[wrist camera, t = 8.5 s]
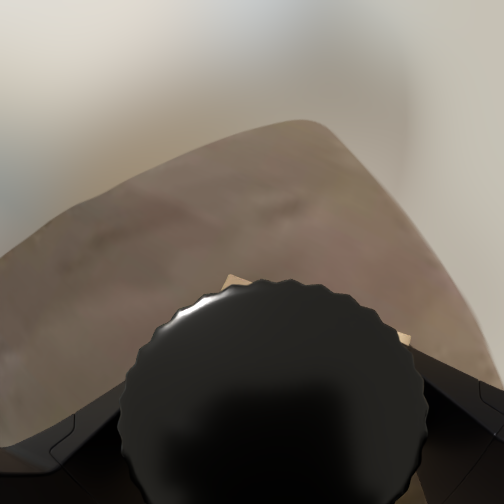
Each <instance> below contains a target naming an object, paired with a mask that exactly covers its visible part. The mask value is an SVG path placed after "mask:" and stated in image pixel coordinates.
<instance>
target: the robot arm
mask: <svg viewBox="0 0 504 504" xmlns="http://www.w3.org/2000/svg"><path fill="white" fill-rule="evenodd" d="M401 344H402V345H404V346H405V347H406V348H408V349H409V350H410V351H411V352H412V353H413V357H414V365H415V369H416V370H417V371H418V372H419V373H420V375H421V376H422V377H423V379H424V393H423V395H424V397H425V399H426V401H427V403H428V405H429V411H428V416H427V418H426V425H427V429H428V435H429V436H428V438H427V441H426V443H425V445H424V446H423V449H422V462H421V465H420V466H419V468H418V469H417V474H418V477H419V480H420V482H421V485H422V488H423V491H424V494H425V497H426V500H427V503H428V504H504V391H503V390H500V389H498V388H496V387H494V386H491V385H489V384H487V383H485V382H483V381H479V380H478V379H476V378H474V377H472V376H470V375H468V374H466V373H464V372H461V371H459V370H457V369H455V368H453V367H451V366H449V365H447V364H445V363H443V362H441V361H439V360H437V359H434V358H432V357H430V356H428V355H426V354H424V353H422V352H420V351H418V350H416V349H414V348H412V347H410V346H408V345H406V344H404V343H402V342H401ZM124 389H125V381H124V382H122V383H121V384H119V385H118V386H116V387H115V388H113V389H111V390H110V391H108V392H107V393H105V394H104V395H102V396H101V397H99V398H98V399H96V400H94V401H93V402H91V403H90V404H88V405H87V406H85V407H83V408H82V409H80V410H79V411H77V412H76V413H75V414H72V415H71V416H69V417H67V418H66V419H64V420H62V421H61V422H59V423H57V424H56V425H54V426H52V427H50V428H48V429H46V430H44V431H42V432H40V433H38V434H36V435H34V436H32V437H30V438H28V439H26V440H23V441H21V442H19V443H17V444H15V445H12V446H9V447H2V448H1V447H0V504H145V503H144V500H143V498H142V495H141V492H140V490H139V489H138V488H137V487H136V486H135V485H134V483H133V482H132V481H131V480H130V476H129V467H128V465H127V463H126V461H125V460H124V459H123V457H122V455H121V444H122V439H121V436H120V434H119V432H118V428H117V425H118V421H119V418H120V415H121V411H120V407H119V398H120V396H121V394H122V392H123V391H124Z"/></svg>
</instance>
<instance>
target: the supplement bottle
mask: <svg viewBox="0 0 504 504" xmlns="http://www.w3.org/2000/svg"><path fill="white" fill-rule="evenodd" d="M423 393H424V379H423V377H422V376H421V375H420V373H419V372H418V371H417V370H416V369H415V365H414V357H413V353H412V352H411V351H410V350H409V349H408V348H406V347H405V346H404V345H402V344H401V341H400V338H399V335H398V333H397V331H396V330H395V329H394V328H392V327H390V326H388V325H386V324H384V323H383V322H382V321H381V319H380V317H379V315H378V314H377V313H376V311H375V310H373V309H370V308H367V307H363V306H360V305H359V304H358V303H357V302H356V300H355V299H353V298H352V297H351V296H350V295H347V294H340V293H333V292H332V291H330V290H329V289H328V288H326V287H325V286H323V285H322V284H316V285H304V284H301V283H300V282H298V281H295V280H293V279H290V280H284V281H281V282H277V283H275V282H271V281H269V280H264V279H260V280H258V281H255V282H253V283H251V284H249V285H240V284H231V285H230V286H228V287H226V288H225V289H223V290H222V291H221V292H219V293H210V294H204V295H203V296H201V297H200V298H199V299H198V300H197V301H196V302H195V303H194V304H193V305H190V306H186V307H183V308H180V309H178V310H177V312H176V313H175V314H174V316H173V317H172V319H171V320H170V321H169V322H167V323H165V324H162V325H161V326H159V327H157V328H156V330H155V332H154V334H153V336H152V339H151V341H150V342H149V343H147V344H146V345H144V346H143V347H141V348H140V349H139V352H138V355H137V358H136V363H135V365H134V366H133V367H132V368H130V370H129V371H128V372H127V373H126V379H125V389H124V391H123V392H122V394H121V396H120V398H119V407H120V411H121V415H120V418H119V421H118V425H117V428H118V432H119V434H120V436H121V439H122V444H121V455H122V457H123V459H124V460H125V461H126V463H127V465H128V467H129V476H130V480H131V481H132V482H133V483H134V485H135V486H136V487H137V488H138V489H139V490H140V492H141V495H142V498H143V500H144V503H145V504H394V503H395V501H396V500H398V499H399V498H400V497H401V496H402V495H403V494H404V493H405V492H406V491H407V490H408V488H409V485H410V480H411V477H412V476H413V474H414V473H415V472H416V471H417V469H418V468H419V466H420V465H421V462H422V449H423V446H424V445H425V443H426V441H427V438H428V436H429V435H428V429H427V425H426V418H427V416H428V411H429V405H428V403H427V401H426V399H425V397H424V395H423Z"/></svg>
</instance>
